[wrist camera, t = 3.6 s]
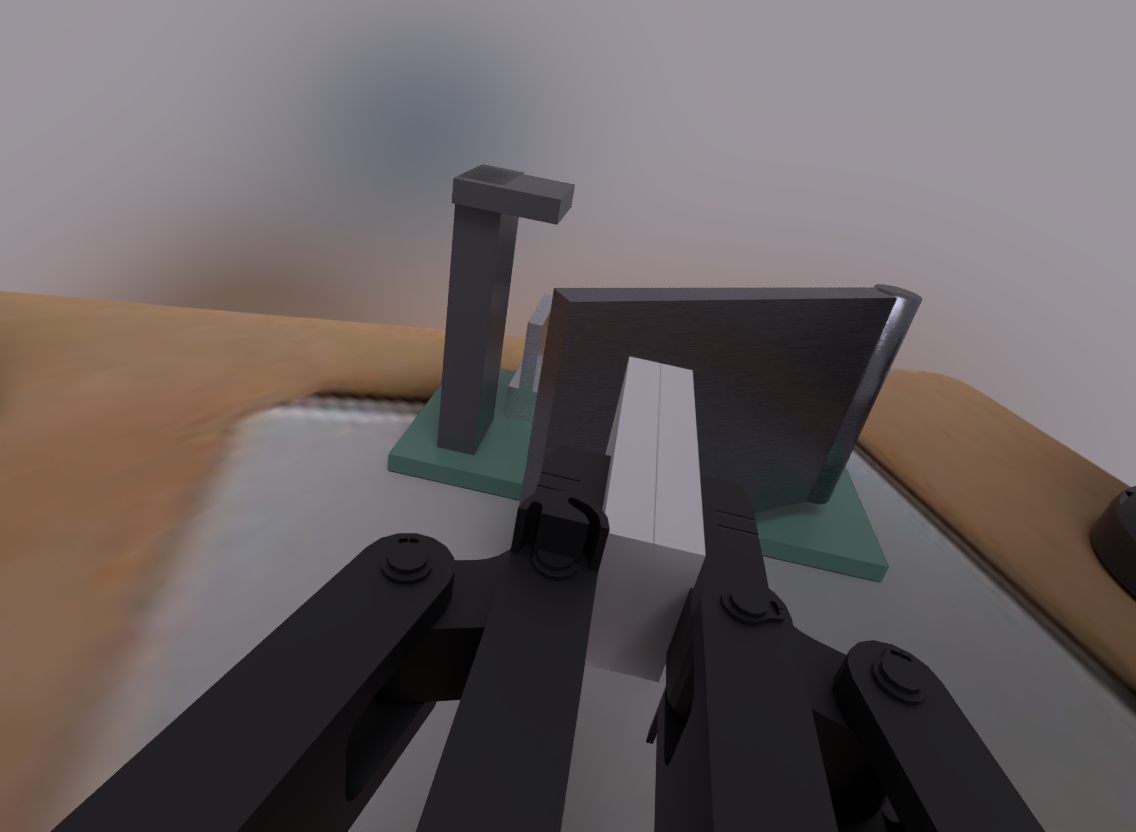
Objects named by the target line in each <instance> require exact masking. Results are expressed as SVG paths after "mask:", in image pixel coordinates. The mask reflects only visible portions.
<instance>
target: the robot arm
mask: <svg viewBox="0 0 1136 832" xmlns="http://www.w3.org/2000/svg"><path fill="white" fill-rule="evenodd" d="M1091 535H1092V542H1093V545H1094V547H1095V549H1096V551H1097V553H1098V555H1099V557H1100V558H1101V560H1102V561H1103V563H1104V564H1105V565H1106V567H1107V568H1108V569H1109V570H1110V572H1111V573H1112V574H1113V575H1114V576H1115V577H1116V578H1117V579H1118V580H1119V581H1120V582H1121V583H1122V584H1123V585H1124V586H1125V587H1126V588H1127V589H1128V590H1129V591H1130V592H1131V593H1132V594H1133V595H1134V596H1135V597H1136V486H1134V487H1131V488H1128V489H1127V490H1125V491H1124V492H1122V493H1120V494H1119V495H1118V496H1117V497H1116V498H1115V499H1114V500H1113V501H1112V502H1111V503H1110V505H1109V506H1108V507H1107V509H1106V510H1105V511H1104V513H1103V514H1102V515H1101V517H1100V518H1099V519H1098V521H1097V522H1096V523H1095V525H1094V526H1093V529H1092V533H1091ZM585 664H587V665H591V666H595V667H599V668H603V669H607V670H611V671H615V672H619V673H624V674H628V675H632V676H636V677H640V678H644V679H648V680H652V681H656V682H659V680H660V677H661V674H662V672H663V669H664V666H665V664H666V687H665V690H664V692H663V695H662V698H661V700H660V703H659V706H658V708H657V711H656V713H655V716H654V719H653V721H652V724H651V726H650V729H649V733H648V736H647V740H646V742H647V743H651V744H653V742H654V740H655V737H656V734H657V751H656V789H655V827H654V832H1045V831H1044V829H1043V828H1042V827H1041V825H1040V824H1039V822H1038V821H1037V819H1036V818H1035V816H1034V815H1033V814H1032V812H1031V811H1030V809H1029V808H1028V806H1027V805H1026V803H1025V802H1024V800H1023V799H1022V798H1021V796H1020V795H1019V793H1018V792H1017V790H1016V789H1015V787H1014V786H1013V785H1012V783H1011V782H1010V780H1009V779H1008V777H1007V776H1006V774H1005V773H1004V772H1003V770H1002V769H1001V767H1000V766H999V764H998V763H997V761H996V760H995V759H994V757H993V756H992V754H991V753H990V751H989V750H988V748H987V747H986V746H985V744H984V743H983V741H982V740H981V738H980V737H979V735H978V734H977V732H976V731H975V730H974V728H973V727H972V725H971V724H970V722H969V721H968V719H967V718H966V717H965V715H964V714H963V712H962V711H961V709H960V708H959V706H958V705H957V704H956V702H955V701H954V699H953V698H952V696H951V695H950V693H949V692H948V691H947V689H946V688H945V686H944V685H943V683H942V682H941V681H940V680H939V679H938V677H937V676H936V675H935V674H934V673H933V672H932V671H931V670H930V668H929V667H928V666H927V665H925V664H924V663H923V662H921V661H920V660H919V659H917V658H916V657H914V656H913V655H912V654H910V653H909V652H907V651H904V650H902V649H900V648H898V647H896V646H894V645H892V644H888V643H883V642H878V641H874V640H872V641H865V642H859V643H857V644H856V645H855V646H854V647H853V648H851V649H850V650H849V652H848V654H847V655H845V654H843V653H841V652H839V651H837V650H835V649H833V648H831V647H829V646H826V645H824V644H822V643H820V642H818V641H816V640H814V639H812V638H811V637H809V636H807V635H806V634H804V633H802V632H801V631H799V630H798V629H797V628H795V627H794V626H793V622H792V618H791V616H790V614H789V611H788V609H787V607H786V605H785V604H784V603H783V602H782V601H781V599H780V598H779V597H778V596H777V595H776V594H775V593H774V592H773V591H771V590H770V589H769V587H768V582H767V577H766V572H765V566H764V561H763V556H762V551H761V545H760V540H759V538H758V530H757V524H756V523H755V514H754V508H753V503H752V501H751V499H750V498H749V497H748V495H747V494H746V493H745V491H744V490H743V489H742V487H741V486H740V485H739V483H734V482H730V481H726V480H721V479H717V478H713V477H708V476H704V475H700V470H699V456H698V441H697V427H696V413H695V399H694V384H693V370H689V369H684V368H680V367H675V366H671V365H666V364H662V363H657V362H653V361H648V360H644V359H639V358H635V357H630V356H629V360H628V364H627V368H626V372H625V376H624V381H623V385H622V389H621V393H620V397H619V401H618V405H617V409H616V413H615V417H614V421H613V426H612V430H611V434H610V438H609V442H608V446H607V450H606V454H605V455H604V454H600V453H596V452H591V451H587V450H583V449H578V448H574V447H570V446H565V445H561V446H560V447H558V448H557V449H556V450H554V451H553V452H552V453H550V454H549V455H548V456H547V458H546V461H545V464H544V467H543V470H542V473H541V476H540V479H539V482H538V485H537V488H536V491H535V494H533V495H531V496H529V497H527V498H525V499H524V501H523V502H522V503H521V505H520V506H519V507H518V512H517V518H516V524H515V529H514V535H513V541H512V547H511V549H510V550H508V551H506V552H505V553H503V554H501V555H499V556H496V557H492V558H489V559H482V560H454V557H453V556H452V554H451V553H450V551H449V550H448V548H447V547H446V546H445V545H443V544H442V543H440V542H439V541H437V540H436V539H434V538H432V537H428V536H424V535H420V534H417V533H398V534H395V535H391V536H387V537H383V538H380V539H379V540H377V541H376V542H374V543H372V544H371V545H369V546H368V547H366V548H365V549H364V550H363V551H362V552H361V553H360V554H359V555H357V556H356V557H355V558H354V559H353V560H352V561H351V562H350V563H349V564H347V565H346V566H345V567H344V568H343V569H342V570H341V571H340V572H339V573H337V574H336V575H335V576H334V577H333V578H332V579H331V580H330V581H329V582H327V583H326V584H325V585H324V586H323V587H322V588H321V589H320V590H319V591H317V592H316V593H315V594H314V595H313V596H312V597H311V598H310V599H309V600H307V601H306V602H305V603H304V604H303V605H302V606H301V607H300V608H299V609H297V610H296V611H295V612H294V613H293V614H292V615H291V616H290V617H288V618H287V619H286V620H285V621H284V622H283V623H282V624H281V625H280V626H278V627H277V628H276V629H275V630H274V631H273V632H272V633H271V634H270V635H268V636H267V637H266V638H265V639H264V640H263V641H262V642H261V643H260V644H258V645H257V646H256V647H255V648H254V649H253V650H252V651H251V652H250V653H248V654H247V655H246V656H245V657H244V658H243V659H242V660H241V661H240V662H238V663H237V664H236V665H235V666H234V667H233V668H232V669H231V670H230V671H228V672H227V673H226V674H225V675H224V676H223V677H222V678H221V679H220V680H218V681H217V682H216V683H215V684H214V685H213V686H212V687H211V688H210V689H208V690H207V691H206V692H205V693H204V694H203V695H202V696H201V697H200V698H198V699H197V700H196V701H195V702H194V703H193V704H192V705H191V706H190V707H188V708H187V709H186V710H185V711H184V712H183V713H182V714H181V715H180V716H178V717H177V718H176V719H175V720H174V721H173V722H172V723H171V724H170V725H168V726H167V727H166V728H165V729H164V730H163V731H162V732H161V733H160V734H158V735H157V736H156V737H155V738H154V739H153V740H152V741H151V742H150V743H148V744H147V745H146V746H145V747H144V748H143V749H142V750H141V751H139V752H138V753H137V754H136V755H135V756H134V757H133V758H132V759H131V760H129V761H128V762H127V763H126V764H125V765H124V766H123V767H122V768H121V769H119V770H118V771H117V772H116V773H115V774H114V775H113V776H112V777H111V778H109V779H108V780H107V781H106V782H105V783H104V784H103V785H102V786H101V787H99V788H98V789H97V790H96V791H95V792H94V793H93V794H92V795H91V796H89V797H88V798H87V799H86V800H85V801H84V802H83V803H82V804H81V805H79V806H78V807H77V808H76V809H75V810H74V811H73V812H72V813H71V814H69V815H68V816H67V817H66V818H65V819H64V820H63V821H62V822H61V823H59V824H58V825H57V826H56V827H55V828H54V829H53V830H52V831H51V832H348V830H349V829H350V827H351V826H352V825H353V823H354V822H355V820H356V819H357V817H358V816H359V814H360V813H361V812H362V810H363V809H364V807H365V806H366V804H367V803H368V802H369V800H370V799H371V797H372V796H373V794H374V793H375V792H376V790H377V789H378V787H379V786H380V784H381V783H382V781H383V780H384V779H385V777H386V776H387V774H388V773H389V771H390V770H391V769H392V767H393V766H394V764H395V763H396V761H397V760H398V758H399V757H400V756H401V754H402V753H403V751H404V750H405V748H406V747H407V746H408V744H409V743H410V741H411V740H412V738H413V737H414V736H415V734H416V733H417V731H418V730H419V728H420V727H421V725H422V724H423V723H424V721H425V720H426V718H427V717H428V715H429V714H430V713H431V711H432V710H433V708H434V707H435V704H436V702H437V701H449V700H460V703H459V706H458V709H457V712H456V715H455V718H454V721H453V724H452V727H451V729H450V732H449V735H448V738H447V741H446V744H445V747H444V750H443V753H442V756H441V759H440V762H439V765H438V768H437V771H436V774H435V777H434V780H433V783H432V786H431V789H430V792H429V794H428V797H427V800H426V803H425V806H424V809H423V812H422V815H421V818H420V821H419V824H418V827H417V830H416V832H560V830H561V823H562V817H563V810H564V803H565V796H566V789H567V782H568V776H569V769H570V762H571V755H572V748H573V741H574V735H575V728H576V721H577V714H578V707H579V700H580V694H581V687H582V680H583V673H584V666H585Z"/></svg>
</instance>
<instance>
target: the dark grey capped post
mask: <svg viewBox="0 0 1136 832" xmlns="http://www.w3.org/2000/svg"><path fill="white" fill-rule="evenodd" d="M574 186H575V185H574V184H569V183H564V182H558V181H553V180H548V179H544V178H539V177H534V176H529V175H524V173H523V172H518V171H513V170H508V169H503V168H498V167H494V166H489V165H483V164H482V165H480V166H478V167H476V168H474V169H472V170H470V171H468V172H465V173H463V174H461V175H459V176H457V177H455V178H454V179H453V193H452V203H454V204H455V214H454V226H453V240H452V253H451V254H452V255H451V267H450V282H449V294H448V307H447V320H446V334H445V347H444V361H443V374H442V388H441V401H440V414H439V428H438V441H437V447H439V448H443V449H447V450H452V451H456V452H461V453H465V454H470V455H475V453H476V451H477V450H478V448H479V446H480V444H481V442H482V440H483V438H484V436H485V434H486V432H487V431H488V429H489V427H490V425H491V423H492V421H493V419H494V412H495V404H496V396H497V388H498V380H499V372H500V364H501V355H502V347H503V339H504V331H505V323H506V315H507V307H508V298H509V291H510V283H511V274H512V266H513V258H514V250H515V241H516V233H517V226H518V218H519V217H523V218H527V219H532V220H537V221H542V222H547V223H552V224H558V223H559V222H560V221H561V219H562V218H563V217H564V215H565V214H566V213H567V211H568V210H569V209H570V208H571V205H572V199H573V193H574Z"/></svg>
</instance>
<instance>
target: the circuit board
mask: <svg viewBox="0 0 1136 832" xmlns="http://www.w3.org/2000/svg"><path fill="white" fill-rule="evenodd" d="M515 373H516V372H514V371H509V370H505V369H500V372H499V380H498V388H497V396H496V404H495V412H494V419H493V421H492V423H491V425H490V427H489V429H488V431H487V432H486V434H485V436H484V438H483V440H482V442H481V444H480V446H479V448H478V450H477V451H476V453H475V455H470V454H465V453H461V452H456V451H452V450H447V449H443V448H439V447H437V441H438V428H439V414H440V401H441V388H442V384H441V385H440V386H439V388H438V389H437V390H436V392H435V393H434V394H433V396H432V397H431V398H430V400H429V401H428V402H427V404H426V405H425V406H424V408H423V409H422V410H421V412H420V413H419V414H418V416H417V417H416V418H415V420H414V421H413V422H412V424H411V425H410V426H409V428H408V429H407V430H406V432H405V433H404V434H403V436H402V437H401V438H400V439H399V441H398V442H397V443H396V445H395V446H394V447H393V449H392V450H391V451H390V453H389V458H388V470H390V471H394V472H398V473H403V474H407V475H412V476H416V477H420V478H425V479H429V480H434V481H438V482H442V483H447V484H451V485H456V486H460V487H464V488H469V489H473V490H478V491H482V492H486V493H491V494H495V495H500V496H504V497H508V498H513V499H517V500H520V498H521V492H522V486H523V480H524V473H525V467H526V461H527V455H528V448H529V442H530V436H531V429H532V423H530V422H526V421H521V420H517V419H512V418H508V417H504V414H505V407H506V399H507V392H508V386H509V384H510V382H511V380H512V378H513V376H514V375H515ZM754 514H755V523H756V524H757V530H758V538H759V540H760V545H761V551H762V555H764V556H768V557H772V558H777V559H781V560H786V561H790V562H794V563H799V564H803V565H808V566H812V567H816V568H821V569H825V570H830V571H834V572H838V573H843V574H847V575H852V576H856V577H860V578H865V579H869V580H874V581H878V582H881V580H882V578H883V576H884V575H885V573H886V571H887V569H888V568H889V566H888V564H887V562H886V559H885V557H884V555H883V552H882V550H881V548H880V545H879V543H878V541H877V538H876V536H875V534H874V532H873V529H872V527H871V525H870V522H869V520H868V518H867V515H866V513H865V511H864V508H863V506H862V504H861V502H860V499H859V497H858V495H857V492H856V490H855V488H854V485H853V483H852V481H851V478H850V476H849V474H848V472H847V469H846V467H845V468H844V470H843V472H842V474H841V476H840V479H839V481H838V483H837V485H836V487H835V489H834V492H833V494H832V496H831V498H830V500H829V502H828V503H826V504H813V503H810V502H804V503H800V504H795V505H791V506H786V507H782V508H777V509H772V510H768V511H763V512H759V513H754Z"/></svg>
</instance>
